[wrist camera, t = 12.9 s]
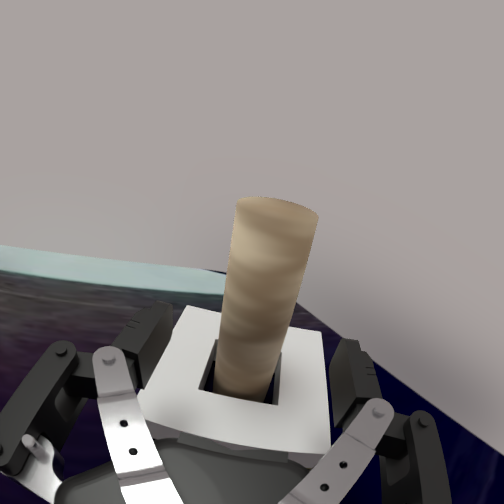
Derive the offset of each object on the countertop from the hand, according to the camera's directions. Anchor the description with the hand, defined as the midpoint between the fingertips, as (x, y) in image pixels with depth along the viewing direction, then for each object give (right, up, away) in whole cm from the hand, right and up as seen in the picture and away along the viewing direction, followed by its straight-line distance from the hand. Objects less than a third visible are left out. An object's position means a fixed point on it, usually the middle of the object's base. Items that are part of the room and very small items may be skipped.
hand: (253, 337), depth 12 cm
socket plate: (-1, -7, +7) cm, 9 cm away
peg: (-1, -7, +7) cm, 9 cm away
